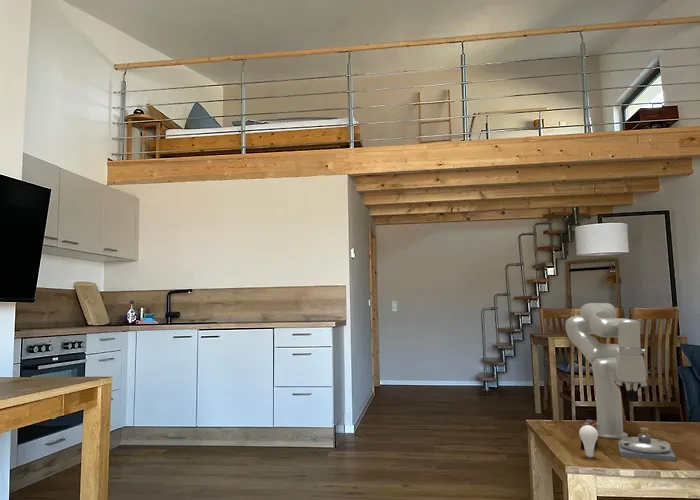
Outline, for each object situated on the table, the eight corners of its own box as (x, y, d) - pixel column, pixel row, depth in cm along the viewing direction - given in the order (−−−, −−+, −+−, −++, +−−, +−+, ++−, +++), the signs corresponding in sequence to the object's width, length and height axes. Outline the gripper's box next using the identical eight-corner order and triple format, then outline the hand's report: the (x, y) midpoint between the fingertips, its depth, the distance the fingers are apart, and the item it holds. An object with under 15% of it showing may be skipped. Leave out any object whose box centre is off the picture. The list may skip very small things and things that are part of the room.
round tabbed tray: (671, 455, 187) (670, 439, 187) (619, 450, 194) (618, 434, 195) (669, 445, 201) (668, 429, 202) (621, 440, 209) (620, 425, 209)
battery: (598, 447, 205) (596, 420, 206) (593, 451, 200) (591, 423, 201) (585, 445, 208) (584, 418, 209) (580, 449, 202) (579, 421, 204)
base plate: (620, 456, 193) (620, 451, 193) (618, 445, 209) (617, 440, 209) (675, 461, 186) (675, 456, 186) (669, 449, 202) (668, 445, 202)
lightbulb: (597, 461, 187) (596, 427, 188) (578, 458, 190) (577, 425, 191) (600, 456, 192) (598, 424, 193) (581, 454, 195) (580, 422, 196)
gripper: (650, 351, 210) (652, 400, 208) (607, 350, 215) (609, 398, 213) (653, 353, 203) (655, 404, 201) (608, 352, 208) (610, 401, 206)
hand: (631, 401), depth 207 cm, fingers closed
